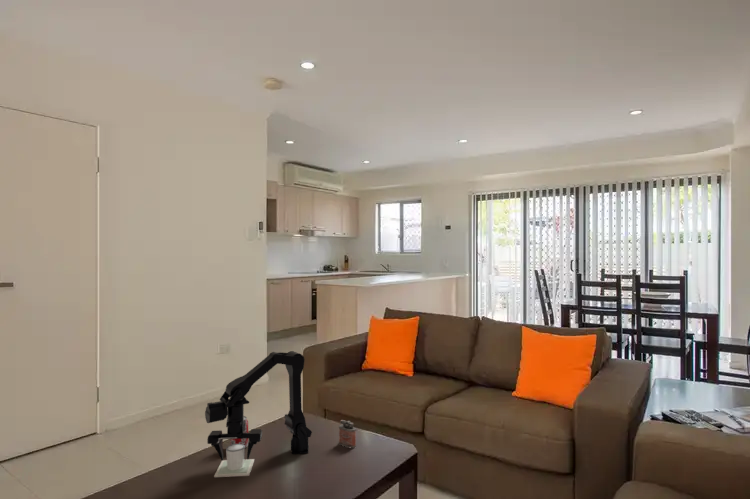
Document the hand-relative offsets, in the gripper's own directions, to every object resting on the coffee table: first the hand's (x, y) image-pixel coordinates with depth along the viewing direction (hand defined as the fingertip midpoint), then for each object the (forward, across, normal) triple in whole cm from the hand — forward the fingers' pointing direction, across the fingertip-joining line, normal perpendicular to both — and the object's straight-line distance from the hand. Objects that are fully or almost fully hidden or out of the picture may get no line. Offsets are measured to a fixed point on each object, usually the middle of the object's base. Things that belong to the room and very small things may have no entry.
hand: (235, 459), depth 168 cm
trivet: (+3, 0, 0) cm, 3 cm away
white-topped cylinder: (+3, 0, 0) cm, 3 cm away
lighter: (+4, -42, -16) cm, 45 cm away
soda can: (+4, +2, -18) cm, 19 cm away
